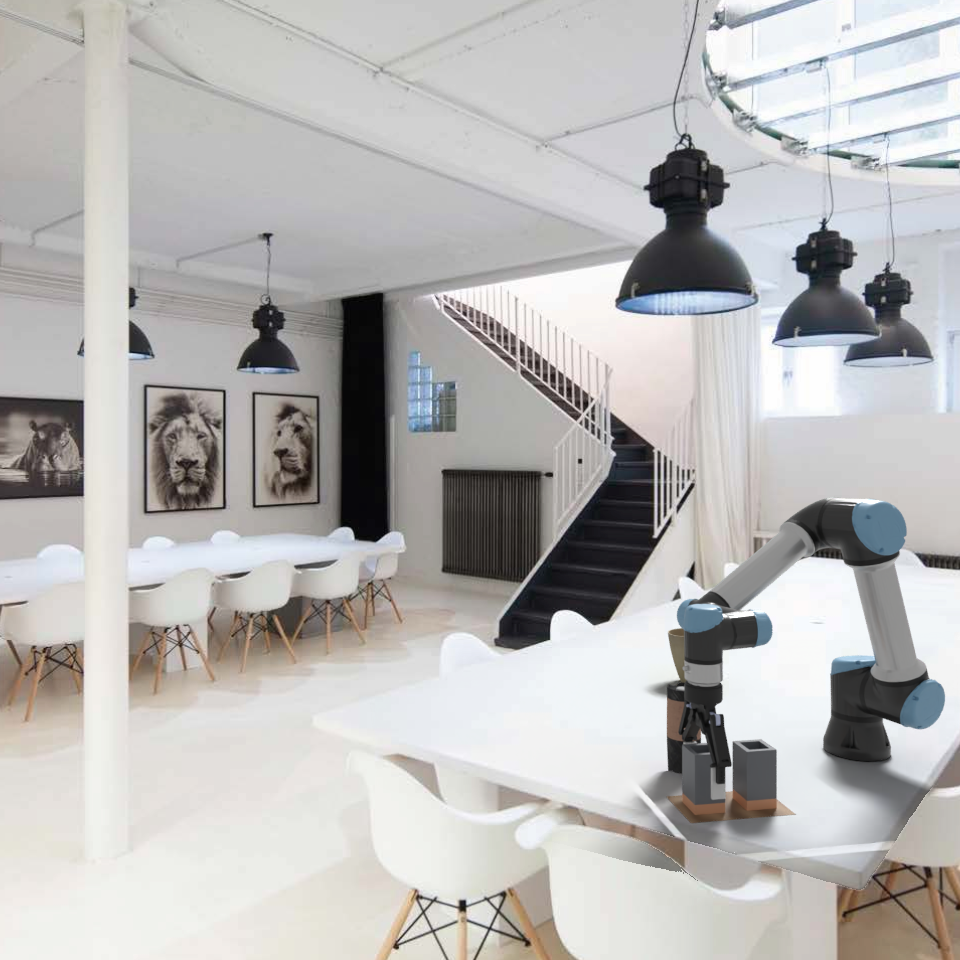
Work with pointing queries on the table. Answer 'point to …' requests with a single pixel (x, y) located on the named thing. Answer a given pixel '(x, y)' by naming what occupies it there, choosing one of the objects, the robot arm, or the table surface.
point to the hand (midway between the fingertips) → (703, 785)
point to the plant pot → (678, 650)
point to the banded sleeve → (698, 780)
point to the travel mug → (675, 726)
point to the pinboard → (728, 811)
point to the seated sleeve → (754, 774)
